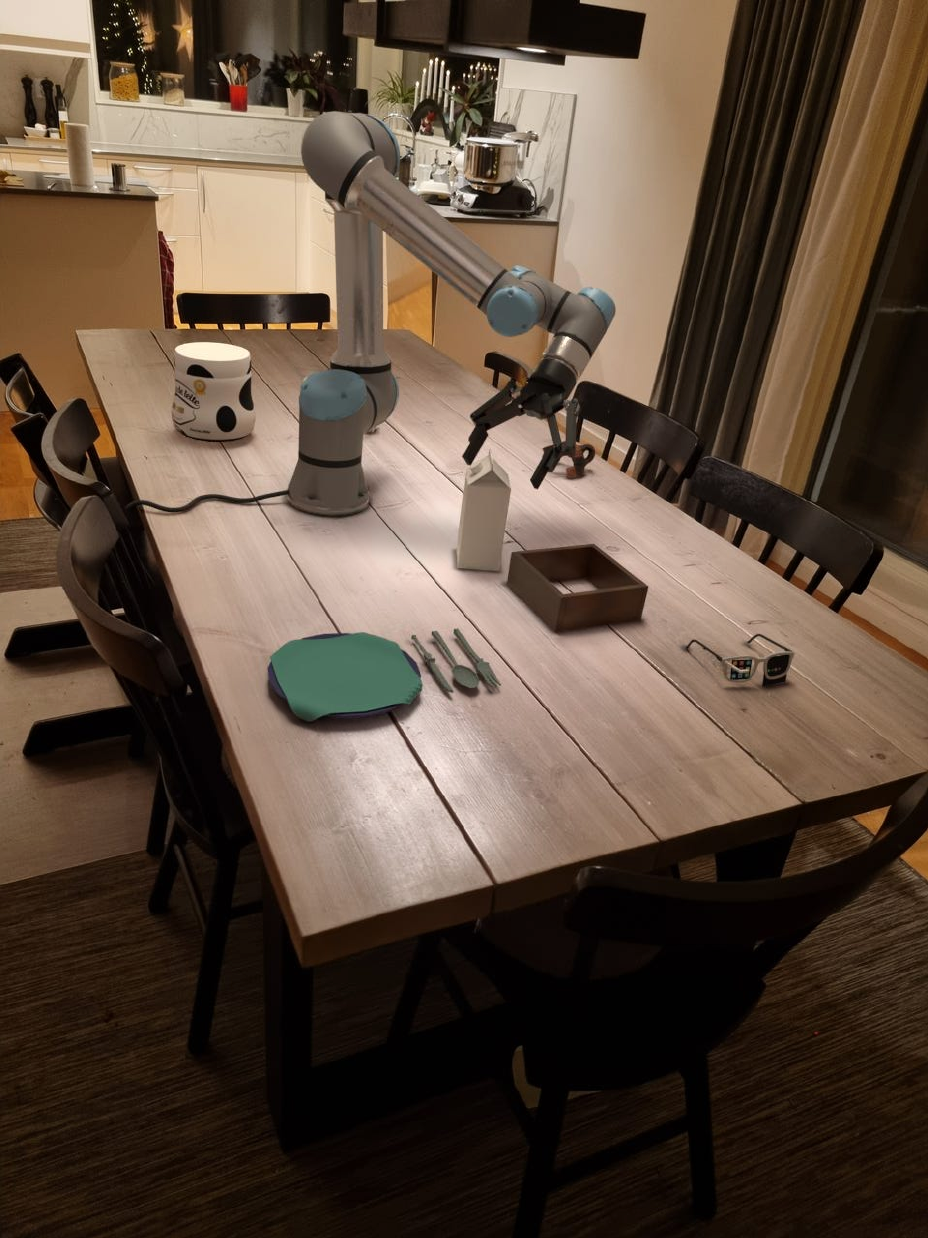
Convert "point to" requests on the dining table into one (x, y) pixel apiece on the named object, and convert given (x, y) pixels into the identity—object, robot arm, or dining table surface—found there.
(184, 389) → the milk container
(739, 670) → the smart glasses
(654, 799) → the dining table surface
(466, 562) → the milk carton
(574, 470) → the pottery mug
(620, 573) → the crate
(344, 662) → the cutlery set
